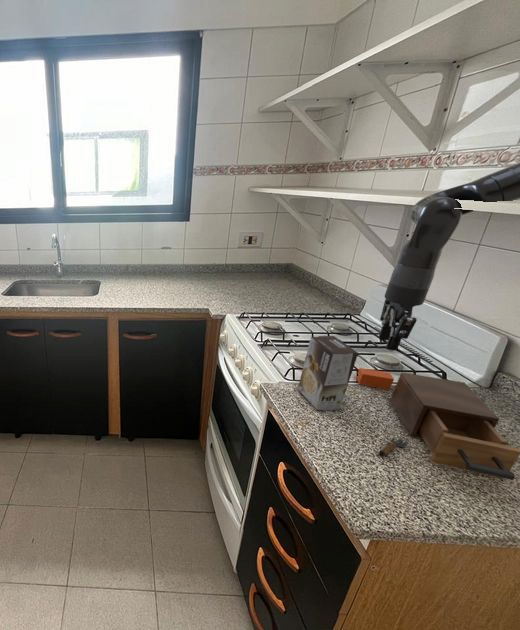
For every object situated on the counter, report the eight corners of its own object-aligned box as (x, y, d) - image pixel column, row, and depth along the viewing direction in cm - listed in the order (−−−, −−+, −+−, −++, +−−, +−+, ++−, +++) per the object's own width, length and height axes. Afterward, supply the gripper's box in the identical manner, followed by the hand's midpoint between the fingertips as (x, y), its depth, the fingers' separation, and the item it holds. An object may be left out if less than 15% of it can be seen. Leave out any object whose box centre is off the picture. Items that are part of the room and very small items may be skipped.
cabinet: (481, 451, 73) (499, 419, 69) (410, 436, 77) (424, 404, 73) (450, 411, 84) (464, 382, 81) (389, 400, 88) (401, 372, 85)
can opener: (383, 457, 71) (385, 453, 71) (371, 449, 73) (373, 445, 73) (410, 445, 74) (412, 441, 74) (398, 438, 76) (400, 434, 76)
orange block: (385, 383, 95) (389, 372, 94) (390, 389, 92) (394, 379, 91) (355, 377, 98) (359, 367, 96) (359, 384, 95) (362, 373, 94)
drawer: (521, 500, 61) (541, 472, 58) (443, 481, 65) (458, 454, 62) (469, 435, 76) (483, 410, 73) (408, 422, 80) (418, 398, 77)
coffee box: (341, 409, 85) (360, 353, 79) (316, 410, 85) (333, 354, 79) (318, 387, 94) (334, 335, 87) (295, 388, 94) (309, 335, 87)
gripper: (443, 294, 76) (415, 360, 83) (416, 276, 88) (394, 335, 95) (401, 290, 79) (378, 354, 85) (381, 273, 91) (362, 330, 98)
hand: (387, 344), depth 90 cm, fingers open, 5 cm apart
